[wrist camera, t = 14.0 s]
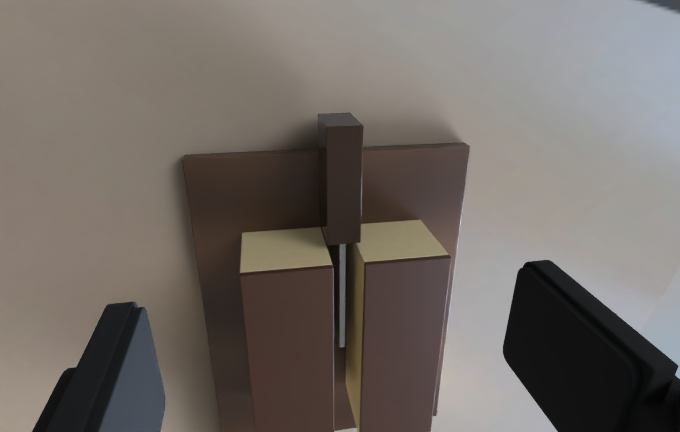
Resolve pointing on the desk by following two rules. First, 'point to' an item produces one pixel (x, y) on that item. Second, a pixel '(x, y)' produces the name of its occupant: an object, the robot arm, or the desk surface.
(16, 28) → the desk surface
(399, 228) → the cake
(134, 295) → the desk surface
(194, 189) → the cake board
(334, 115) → the knife
